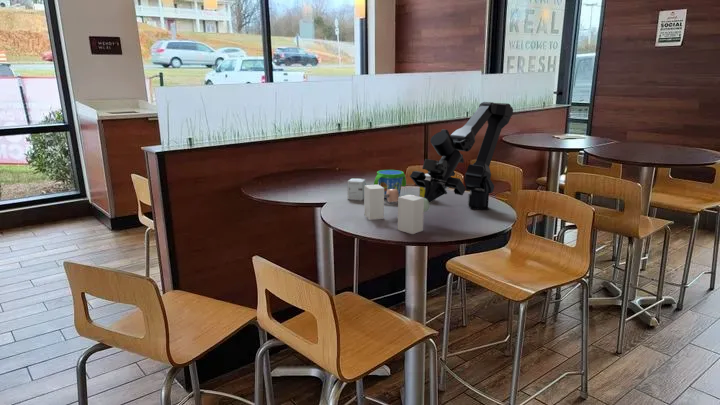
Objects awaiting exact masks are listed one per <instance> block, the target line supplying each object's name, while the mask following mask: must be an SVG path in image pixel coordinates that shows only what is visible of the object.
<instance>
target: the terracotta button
mask: <svg viewBox="0 0 720 405" xmlns="http://www.w3.org/2000/svg"><path fill="white" fill-rule="evenodd" d="M398 197H400V196H399V194H398V190H397V189H388V190H387V193H386V194H384V199H386V198H387V199H386V200H387V203H398Z"/></svg>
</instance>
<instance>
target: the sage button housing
mask: <svg viewBox="0 0 720 405" xmlns="http://www.w3.org/2000/svg"><path fill="white" fill-rule="evenodd" d="M424 213H425V212H424V198H423V197H419V196H418V195H413V194H405V195H402V196H399V197H398V201H397V230H398V231H400V232H404V233H407V234H410V235H414V234H416V233H417V234H418V233H420V232H423V231H424Z"/></svg>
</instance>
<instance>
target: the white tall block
mask: <svg viewBox="0 0 720 405" xmlns="http://www.w3.org/2000/svg"><path fill="white" fill-rule="evenodd" d="M363 200H364V201H363V202H364V203H363V206H364V207H363V208H364V212H363V215H364V216H365V217H366V218H367V220H369V221H372V220H374V221H375V220H382V219H384V218H385V198H384V188H383V187H382V186H380V185H379V183H378V184H377V185H374V184H366V185H364V199H363Z"/></svg>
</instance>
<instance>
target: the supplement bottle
mask: <svg viewBox="0 0 720 405" xmlns="http://www.w3.org/2000/svg"><path fill="white" fill-rule="evenodd" d="M424 174H425V175H426V176H430V175H429V174H428V173H424ZM430 177H431V176H430ZM424 195H425V188H423V187H419V196H418V197H423V198H424Z"/></svg>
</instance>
